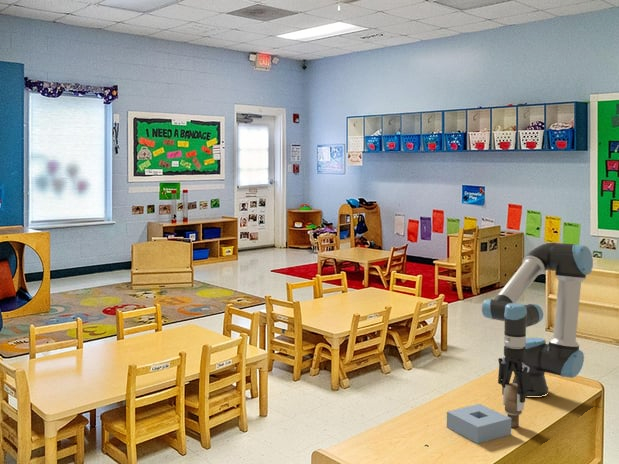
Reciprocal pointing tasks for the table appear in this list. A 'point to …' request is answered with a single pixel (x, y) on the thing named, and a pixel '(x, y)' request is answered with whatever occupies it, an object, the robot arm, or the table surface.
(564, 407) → the table surface
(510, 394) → the peg
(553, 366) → the robot arm
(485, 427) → the seat block
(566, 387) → the table surface
